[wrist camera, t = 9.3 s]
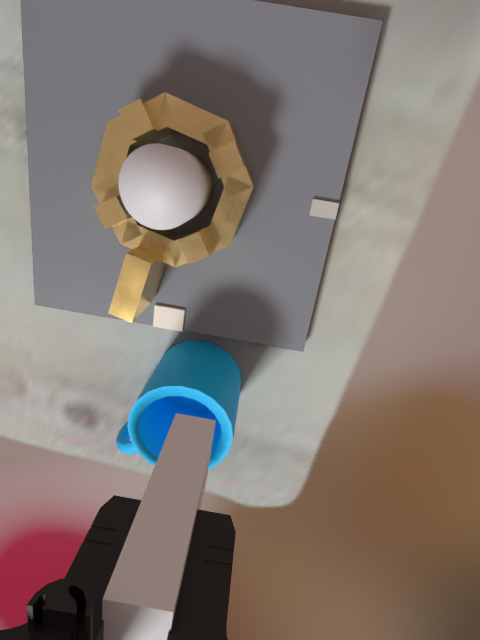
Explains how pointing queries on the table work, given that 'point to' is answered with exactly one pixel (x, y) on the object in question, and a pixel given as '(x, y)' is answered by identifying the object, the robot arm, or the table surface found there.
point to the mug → (185, 399)
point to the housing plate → (194, 151)
